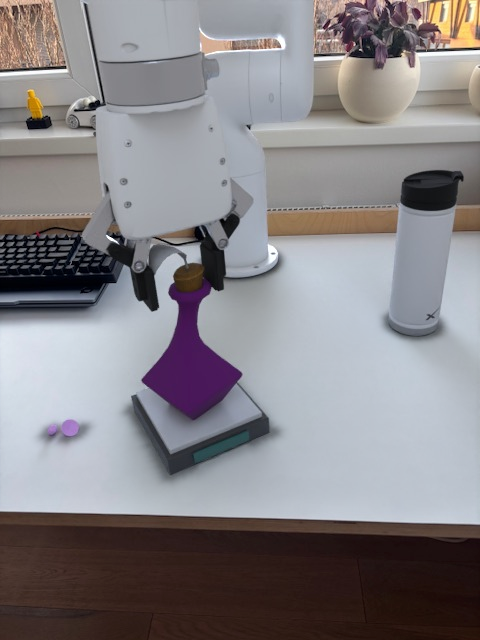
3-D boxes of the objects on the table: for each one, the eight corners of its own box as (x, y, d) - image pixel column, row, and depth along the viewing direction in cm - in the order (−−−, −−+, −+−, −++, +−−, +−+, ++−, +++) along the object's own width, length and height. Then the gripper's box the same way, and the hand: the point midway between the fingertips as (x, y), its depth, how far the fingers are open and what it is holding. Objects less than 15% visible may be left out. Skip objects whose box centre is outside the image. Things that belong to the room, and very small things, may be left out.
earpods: (75, 439, 59) (74, 423, 60) (79, 435, 58) (78, 419, 58) (46, 440, 57) (46, 423, 58) (49, 436, 56) (49, 419, 57)
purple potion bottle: (199, 369, 61) (175, 220, 51) (246, 398, 56) (229, 240, 46) (145, 404, 57) (108, 249, 47) (191, 438, 52) (160, 274, 42)
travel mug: (443, 338, 68) (468, 182, 58) (388, 335, 69) (403, 182, 59) (437, 312, 73) (460, 164, 63) (387, 310, 75) (401, 165, 64)
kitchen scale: (133, 409, 60) (129, 391, 59) (222, 376, 64) (220, 359, 63) (171, 477, 52) (167, 457, 50) (271, 434, 56) (270, 415, 54)
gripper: (233, 65, 47) (245, 257, 56) (27, 93, 40) (80, 304, 50) (279, 73, 41) (283, 285, 50) (47, 107, 34) (102, 343, 44)
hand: (182, 293), depth 50 cm, fingers closed on purple potion bottle, 5 cm apart
